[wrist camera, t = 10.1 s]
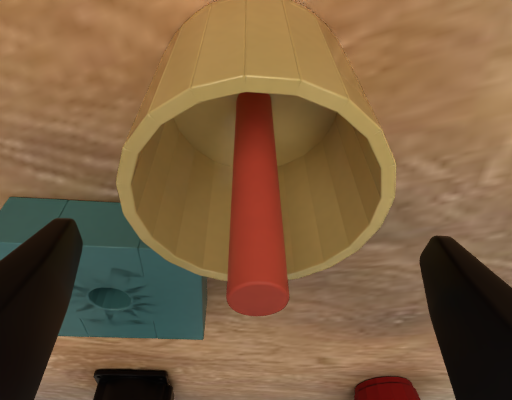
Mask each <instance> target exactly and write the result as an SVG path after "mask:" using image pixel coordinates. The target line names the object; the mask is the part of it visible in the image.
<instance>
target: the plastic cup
mask: <svg viewBox="0 0 512 400" xmlns="http://www.w3.org/2000/svg"><path fill="white" fill-rule="evenodd" d="M354 400H420V398H419V395H418V393H417V391H416V389H415V388H414V387H413V385H412V383H411V382H410V381H409V380H407V379H405V378H401V377H380V378H374V379H370V380H367V381H364V382H362V383H360V384H358V385H357V387H356V388H355V395H354Z"/></svg>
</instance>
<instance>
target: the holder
mask: <svg viewBox="0 0 512 400" xmlns="http://www.w3.org/2000/svg"><path fill="white" fill-rule="evenodd" d="M56 218H71V219H74V220H75V222H76V224H77V226H78V229H79V232H80V234H81V237H82V240H83V250H82V254H81V258H80V262H79V267H78V271H77V275H76V279H75V283H74V287H73V291H72V295H71V299H70V303H69V306H68V309H67V312H66V315H65V318H64V321H63V323H62V326H61V329H60V331H59V334H58V336H78V337H89V336H90V337H119V338H158V339H193V340H203V339H204V329H205V318H206V307H207V277H205V276H200V275H198V274H194V273H192V272H190V271H188V270H186V269H183V268H181V267H179V266H177V265H175V264H172V263H170V262H168V261H167V260H165V259H164V258H163V257H161V256H160V255H159V254H158V253H156V252H155V251H154V250H152V249H151V248H150V247H149V246H147V245H146V244H145V243H144V242H142V240H141V239H140V238H139V237H138V235H137V234H136V232H135V231H134V229H133V228H132V226H131V225H130V224H129V222H128V221H127V219H126V218H125V216H124V214H123V212H122V207H121V203H115V202H96V201H76V200H69V201H68V200H61V199H41V198H22V197H9V199H8V200H7V202H6V203H5V204H4V206H3V207H2V209H1V210H0V260H1V259H3V258H4V257H5V256H7V255H8V254H9V253H11V252H12V251H13V250H14V249H16V248H17V247H18V246H20V245H21V244H22V243H23V242H25V241H26V240H27V239H29V238H30V237H31V236H33V235H34V234H35V233H36V232H38V231H39V230H40V229H42V228H43V227H44V226H45V225H47V224H48V223H49V222H51V221H52V220H53V219H56Z"/></svg>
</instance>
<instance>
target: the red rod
mask: <svg viewBox="0 0 512 400" xmlns="http://www.w3.org/2000/svg"><path fill="white" fill-rule="evenodd" d="M226 298H227V302H228V304H229V306H230V307H231V308H232V309H233V310H234V311H236V312H238V313H241V314H244V315H249V316H266V315H271V314H274V313H276V312H279V311H280V310H282V309H283V308H284V307H285V306H286V305H287V303H288V301H289V288H288V277H287V266H286V255H285V245H284V234H283V223H282V212H281V201H280V191H279V180H278V169H277V158H276V147H275V137H274V126H273V115H272V104H271V98H270V96H269V94H266V93H253V92H244V93H240V94H239V95H238V97H237V101H236V119H235V138H234V158H233V178H232V197H231V217H230V237H229V257H228V276H227V296H226Z"/></svg>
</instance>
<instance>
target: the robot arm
mask: <svg viewBox="0 0 512 400" xmlns="http://www.w3.org/2000/svg"><path fill="white" fill-rule="evenodd" d="M82 250H83V240H82V237H81V234H80V232H79V229H78V226H77V224H76V222H75V220H74V219H71V218H56V219H53V220H52V221H51V222H49V223H48V224H47V225H45V226H44V227H43V228H42V229H40V230H39V231H38V232H36V233H35V234H34V235H33V236H31V237H30V238H29V239H27V240H26V241H25V242H23V243H22V244H21V245H20V246H18V247H17V248H16V249H14V250H13V251H12V252H11V253H9V254H8V255H7V256H5V257H4V258H3V259H1V260H0V400H34V398H35V396H36V393H37V390H38V388H39V385H40V382H41V379H42V377H43V374H44V371H45V369H46V366H47V363H48V361H49V358H50V355H51V353H52V350H53V347H54V345H55V342H56V339H57V337H58V334H59V331H60V329H61V326H62V323H63V321H64V318H65V315H66V312H67V309H68V306H69V303H70V299H71V295H72V291H73V287H74V283H75V279H76V275H77V271H78V267H79V262H80V258H81V254H82ZM420 268H421V273H422V278H423V283H424V288H425V293H426V299H427V304H428V309H429V313H430V317H431V321H432V324H433V328H434V331H435V334H436V337H437V340H438V344H439V347H440V350H441V353H442V356H443V360H444V363H445V366H446V369H447V372H448V376H449V379H450V382H451V385H452V388H453V392H454V395H455V398H456V400H512V288H511V287H510V286H509V285H508V284H506V283H505V282H504V281H503V280H502V279H501V278H499V277H498V276H497V275H496V274H495V273H493V272H492V271H491V270H490V269H489V268H487V267H486V266H485V265H484V264H483V263H481V262H480V261H479V260H478V259H477V258H476V257H474V256H473V255H472V254H471V253H470V252H468V251H467V250H466V249H465V248H464V247H462V246H461V245H460V244H459V243H458V242H456V241H455V240H454V239H453V238H451V237H449V236H434V237H432V238H431V239H430V241H429V243H428V244H427V246H426V247H425V249H424V250H423V252H422V254H421V256H420ZM94 378H95V380H96V382H97V384H98V385H97V389H96V392H95V396H94V399H93V400H174V392H173V387H172V386H171V385H169V380H168V375H167V373H166V372H162V371H116V370H97V371H95V373H94Z"/></svg>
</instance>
